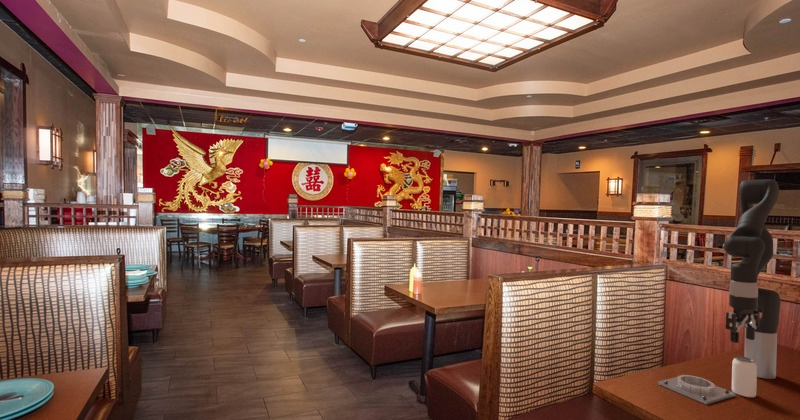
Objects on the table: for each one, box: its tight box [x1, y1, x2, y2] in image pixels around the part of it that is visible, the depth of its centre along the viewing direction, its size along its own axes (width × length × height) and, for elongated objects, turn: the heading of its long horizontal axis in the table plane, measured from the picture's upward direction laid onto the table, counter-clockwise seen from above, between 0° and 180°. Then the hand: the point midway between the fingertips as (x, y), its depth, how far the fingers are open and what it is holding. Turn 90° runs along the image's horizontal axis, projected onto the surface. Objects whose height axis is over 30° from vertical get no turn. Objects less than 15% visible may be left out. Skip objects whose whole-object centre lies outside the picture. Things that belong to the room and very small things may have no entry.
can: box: [731, 355, 758, 399], centre depth 139 cm, size 6×6×12 cm
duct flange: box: [657, 374, 736, 406], centre depth 141 cm, size 16×16×3 cm
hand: (742, 340), depth 139 cm, fingers open, 8 cm apart
